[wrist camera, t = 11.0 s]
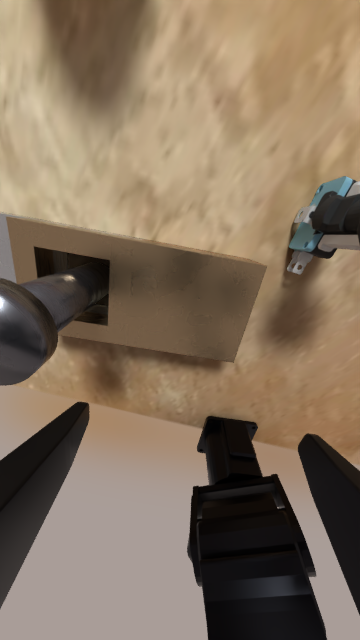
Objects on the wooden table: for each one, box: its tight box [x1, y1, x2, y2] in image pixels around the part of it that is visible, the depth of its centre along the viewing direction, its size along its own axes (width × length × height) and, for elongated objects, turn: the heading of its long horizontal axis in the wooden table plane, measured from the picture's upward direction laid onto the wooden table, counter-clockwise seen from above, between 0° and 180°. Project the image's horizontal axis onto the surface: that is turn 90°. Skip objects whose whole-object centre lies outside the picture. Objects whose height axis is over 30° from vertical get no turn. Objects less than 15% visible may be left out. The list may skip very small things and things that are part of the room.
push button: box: [287, 176, 360, 275], centre depth 11 cm, size 7×5×10 cm
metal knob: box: [0, 262, 110, 385], centre depth 13 cm, size 4×4×11 cm
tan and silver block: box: [0, 212, 267, 363], centre depth 16 cm, size 8×26×4 cm, turn 80°
